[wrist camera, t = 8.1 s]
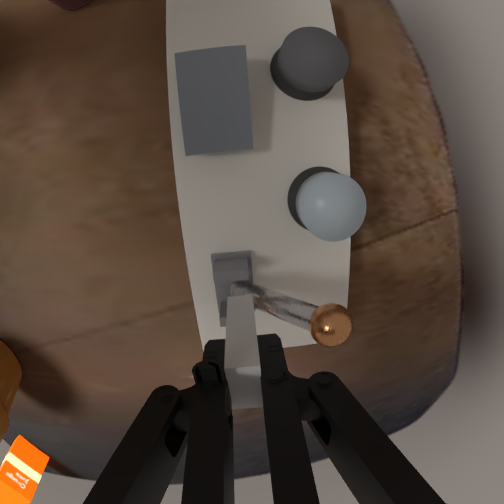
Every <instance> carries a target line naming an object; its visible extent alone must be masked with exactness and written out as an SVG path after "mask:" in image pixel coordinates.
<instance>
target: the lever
mask: <svg viewBox="0 0 504 504" xmlns="http://www.w3.org/2000/svg"><path fill="white" fill-rule="evenodd" d="M230 293H231V295H232V296H242V295H252V297H253V306H254V308H256V309H258V310H260V311H263V312H265V313H267V314H270V315H272V316H274V317H277V318H279V319H281V320H284V321H286V322H288V323H291V324H293V325H296V326H298V327H300V328H303V329H305V330H308V331H310V334H311V336H312V338H313V339H314V340H315V341H316V342H317V343H318V344H320V345H322V346H325V347H336V346H339V345H341V344H343V343H344V342H345V341H346V340H347V339H348V338H349V337H350V335H351V333H352V330H353V319H352V316H351V314H350V312H349V311H348V310H347V309H346V308H345V307H344V306H342V305H340V304H337V303H327V304H324V305H321V306H320V307H319V306H316V305H313V304H311V303H308V302H305V301H302V300H299V299H296V298H293V297H291V296H288V295H285V294H282V293H279V292H276V291H274V290H271V289H268V288H265V287H262V286H260V285H257V284H254V283H251V282H249V281H246V280H241V281H234V282H233V283H232V285H231V287H230Z"/></svg>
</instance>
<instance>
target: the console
mask: <svg viewBox="0 0 504 504" xmlns="http://www.w3.org/2000/svg"><path fill="white" fill-rule="evenodd" d="M302 27H318V28H322V29H325V30H327V31H329V32H331V33H333V34H334V35H335V36H337V35H336V30H335V24H334V19H333V14H332V9H331V4H330V0H166V53H167V80H168V98H169V114H170V127H171V139H172V150H173V160H174V170H175V179H176V188H177V196H178V204H179V212H180V219H181V227H182V234H183V240H184V247H185V254H186V260H187V266H188V272H189V278H190V284H191V290H192V295H193V301H194V306H195V311H196V317H197V322H198V327H199V332H200V337H201V342H202V346H203V351H204V346H205V345H206V343H207V342H208V341H209V340H214V339H225V337H226V317H227V299H228V297H231V296H232V295H231V293H230V287H231V285H232V283H233V282H234V281H241V280H246V281H249V282H251V283H254V284H257V285H260V286H262V287H265V288H268V289H271V290H274V291H276V292H279V293H282V294H285V295H288V296H291V297H293V298H296V299H299V300H302V301H305V302H308V303H311V304H313V305H316V306H319V307H320V306H321V305H324V304H327V303H337V304H340V305H342V306H344V307H345V308H346V309H347V303H348V288H349V270H350V242H351V236H350V237H349V238H347V239H345V240H341V241H337V242H330V241H324V240H322V239H319V238H318V237H316V236H315V235H313V234H312V233H311V232H310V231H309V230H308V229H307V228H306V226H305V225H304V224H303V223H302V222H301V220H300V218H299V217H298V214H297V210H296V196H297V193H298V190H299V188H300V187H301V185H302V184H303V182H304V181H305V180H306V179H308V178H309V177H310V176H312V175H314V174H316V173H320V172H333V173H338V174H343V175H346V176H348V177H350V157H349V139H348V125H347V113H346V103H345V93H344V84H343V78H342V79H341V80H340V81H339V82H337V83H336V84H334V85H333V86H331V87H330V88H328V89H326V90H324V91H321V92H313V93H312V92H305V91H301V90H299V89H296V88H294V87H293V86H291V85H290V84H289V83H288V82H287V81H286V80H285V79H284V78H283V77H282V75H281V73H280V71H279V69H278V64H277V58H278V53H279V51H280V48H281V46H282V44H283V41H284V39H285V38H286V37H287V35H288V34H289V33H291V32H292V31H294V30H296V29H298V28H302ZM237 45H246V55H247V68H248V81H249V95H250V108H251V122H252V136H253V149H248V150H236V151H225V152H216V153H207V154H198V155H190V156H185V148H184V140H183V132H182V124H181V116H180V107H179V97H178V88H177V77H176V66H175V55H174V53H179V52H186V51H192V50H199V49H207V48H215V47H225V46H237ZM254 315H255V324H256V332H257V335H264V334H273V333H276V334H277V335H278V336H279V337H280V338H281V342H282V347H283V348H285V347H293V346H301V345H309V344H316V343H317V342H316V341H315V340H314V339H313V338H312V336H311V334H310V331H308V330H305V329H303V328H300V327H298V326H296V325H293V324H291V323H288V322H286V321H284V320H281V319H279V318H277V317H274V316H272V315H270V314H267V313H265V312H263V311H260V310H258V309H256V308H254Z"/></svg>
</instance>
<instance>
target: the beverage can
mask: <svg viewBox="0 0 504 504" xmlns="http://www.w3.org/2000/svg"><path fill="white" fill-rule="evenodd" d="M49 1H51V2H52V3H54V4H55V5H57V6H58V7H60V8H61V9H63V10H72V9H76V8H79V7H82V6H84V5H85V4H87V3H89V2H90V1H91V0H49Z"/></svg>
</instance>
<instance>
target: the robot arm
mask: <svg viewBox="0 0 504 504" xmlns="http://www.w3.org/2000/svg"><path fill="white" fill-rule="evenodd" d="M192 373H193V376H194V380H195V383H196V384H195V385H194V386H192V387H190V388H187V389H183V390H178V389H177V388H176V387H174V386H171V385H164V386H160V387H158V388H156V389H155V390H154V391H153V392H152V393H151V395H150V396H149V398H148V399H147V401H146V403H145V404H144V406H143V407H142V409H141V411H140V412H139V414H138V415H137V417H136V419H135V420H134V422H133V423H132V425H131V427H130V428H129V430H128V431H127V433H126V435H125V436H124V438H123V439H122V441H121V443H120V444H119V446H118V447H117V449H116V451H115V452H114V454H113V455H112V457H111V459H110V460H109V462H108V463H107V465H106V467H105V468H104V470H103V472H102V473H101V475H100V476H99V478H98V480H97V481H96V483H95V485H94V486H93V488H92V489H91V491H90V493H89V494H88V496H87V498H86V499H85V501H84V503H83V504H160V503H161V501H162V499H163V496H164V494H165V492H166V490H167V488H168V485H169V483H170V481H171V479H172V476H173V474H174V472H175V470H176V468H177V465H178V463H179V461H180V459H181V456H182V454H183V452H184V450H185V447H186V445H187V443H188V445H187V454H186V463H185V472H184V481H183V492H182V501H181V504H234V458H233V416H232V409H245V408H257V407H263V408H264V418H265V427H266V436H267V446H268V455H269V464H270V473H271V482H272V492H273V500H274V504H319V499H318V494H317V490H316V485H315V481H314V476H313V471H312V467H311V462H310V458H309V453H308V449H307V444H306V440H305V435H304V431H303V426H302V422H301V420H303V421H307V422H308V424H309V426H310V428H311V429H312V431H313V432H314V434H315V436H316V437H317V439H318V440H319V442H320V444H321V445H322V447H323V448H324V450H325V452H326V453H327V455H328V456H329V458H330V460H331V461H332V463H333V464H334V466H335V467H336V469H337V470H338V472H339V473H340V475H341V477H342V478H343V480H344V481H345V483H346V484H347V486H348V487H349V489H350V490H351V492H352V493H353V495H354V496H355V498H356V499H357V501H358V502H359V504H446V503H445V502H444V501H443V500H442V499H441V498H440V497H439V496H438V494H437V493H436V492H435V491H434V490H433V489H432V487H431V486H430V485H429V484H428V483H427V482H426V480H424V478H423V477H422V476H421V475H420V474H419V472H418V471H417V470H416V469H415V468H414V467H413V465H412V464H411V463H410V462H409V461H408V460H407V458H406V457H405V456H404V455H403V454H402V453H401V451H400V450H399V449H398V448H397V447H396V446H395V445H394V443H393V442H392V441H391V440H390V439H389V437H388V436H387V435H386V434H385V433H384V431H383V430H382V429H381V428H380V427H379V426H378V424H377V423H376V422H375V421H374V420H373V418H372V417H371V416H370V415H369V414H368V413H367V411H366V410H365V409H364V408H363V407H362V405H361V404H360V403H359V402H358V401H357V399H356V398H355V397H354V396H353V395H352V393H351V392H350V391H349V390H348V389H347V387H346V386H345V385H344V384H343V383H342V381H341V380H340V379H339V378H338V377H337V376H336V375H335V374H333V373H330V372H318V373H315V374H313V375H312V376H311V377H310V378H309V379H304V378H298V377H295V376H293V375H292V374H291V373H290V372H289V371H288V368H287V364H286V360H285V355H284V351H283V347H282V342H281V338H280V337H279V336H278V335H277V334H276V333H273V334H264V335H257V332H256V324H255V315H254V306H253V297H252V295H242V296H231V297H228V299H227V317H226V337H225V339H214V340H209V341H208V342H207V343H206V345H205V346H204V353H203V360H202V361H201V362H199V363H197V364H196V365H195V366H194V367H193V369H192Z"/></svg>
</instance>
